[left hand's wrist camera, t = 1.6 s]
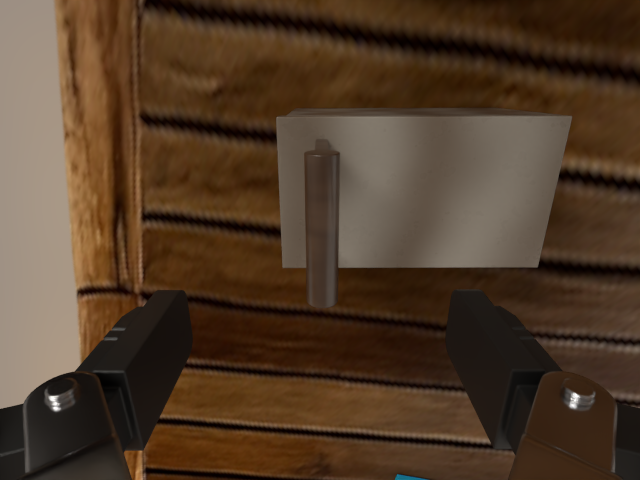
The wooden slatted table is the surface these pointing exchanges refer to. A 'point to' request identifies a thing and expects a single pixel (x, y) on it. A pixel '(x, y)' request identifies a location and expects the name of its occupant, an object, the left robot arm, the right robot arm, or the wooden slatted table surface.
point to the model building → (407, 478)
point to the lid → (414, 192)
